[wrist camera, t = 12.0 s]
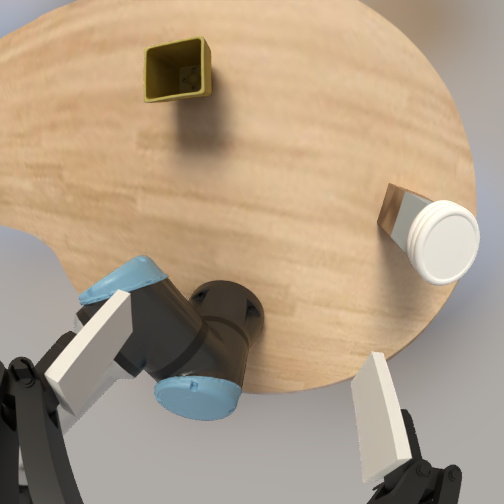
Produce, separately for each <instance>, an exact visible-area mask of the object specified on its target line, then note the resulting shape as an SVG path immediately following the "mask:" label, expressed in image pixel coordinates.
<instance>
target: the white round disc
mask: <svg viewBox="0 0 504 504" xmlns="http://www.w3.org/2000/svg"><path fill="white" fill-rule="evenodd" d="M479 242H480V234H479V227H478V224H477V221H476V219H475V218H474V216H473V215H472V214H471V213H470V211H468V210H467V209H465V208H464V207H462V206H460V205H458V204H456V203H454V202H451V201H447V200H441V201H436V202H433V203H431V204H429V205H427V206H426V207H425V208H424V209H422V210H421V211H420V213H419V214H418V215H417V216H416V218H415V219H414V221H413V223H412V225H411V227H410V230H409V234H408V238H407V252H408V257H409V260H410V262H411V264H412V266H413V267H414V268H415V270H416V271H417V272H418V273H419V274H420V276H421V277H422V278H423V279H424V280H425V281H427V282H429V283H431V284H433V285H447V284H450V283H453V282H455V281H456V280H458V279H459V278H461V277H462V276H463V275H464V274H465V273H466V272H467V270H468V269H469V268H470V267H471V265H472V263H473V261H474V259H475V257H476V254H477V252H478V248H479Z"/></svg>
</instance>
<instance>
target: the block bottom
mask: <svg viewBox="0 0 504 504" xmlns="http://www.w3.org/2000/svg"><path fill="white" fill-rule="evenodd" d="M405 191H406V192H408V193H411V194H414V195H416V196H419V197H422V198H424V199H427V200H429V201H432V200H430V199H428V198H426V197H424V196H423V195H420V194H417V193H415V192H412V191H410V190H407V189H404V188H402V187H399V186H396V185H393V184H390V183H389V185H388V188H387V192H386V195H385V198H384V202H383V205H382V208H381V211H380V214H379V217H378V220H377V223H378V224H379V225H380V226H381V227H382V228H383V229H384V230H385V232H386V233H387V234H388V235H389V236H391V234H392V231H393V228H394V225H395V222H396V219H397V216H398V213H399V210H400V207H401V203H402V200H403V197H404V193H405ZM432 202H434V201H432Z"/></svg>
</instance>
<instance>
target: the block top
mask: <svg viewBox="0 0 504 504" xmlns="http://www.w3.org/2000/svg"><path fill="white" fill-rule="evenodd" d="M431 203H433V202H432V201H429V200H427V199H424V198H422V197H419V196H416V195H414V194H411V193H408V192H406V191H405V193H404V197H403V200H402V203H401V207H400V210H399V213H398V216H397V219H396V222H395V225H394V228H393V231H392V234H391V236H390V237H391V238H392V239H393V240H394V241H395V242H396V244H397V245H398V246H399V247H400V248H401V249H402V250H403V251H404V253H405V254H406V255H407V256H408V252H407V238H408V234H409V230H410V227H411V225H412V223H413V221H414V219H415V218H416V216H417V215H418V214H419V213H420V211H421V210H422V209H424V208H425V207H426V206H427V205H429V204H431Z"/></svg>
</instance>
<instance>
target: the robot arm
mask: <svg viewBox="0 0 504 504" xmlns="http://www.w3.org/2000/svg"><path fill="white" fill-rule="evenodd" d="M168 277H169V276H168V275H167V274H164V273H163V271H162V270H161V269H160V268H159V267H158V266H157V265H156V264H155V262H154V261H153V260H152V259H151V258H149V257H148V256H144V255H140V256H136V257H134V258H133V259H131V260H130V261H128V262H126V263H125V264H123V265H122V266H120V267H119V268H117V269H116V270H114V271H113V272H111V273H110V274H108V275H107V276H106V277H104V278H103V279H101V280H100V281H98V282H97V283H96V284H94V285H93V286H91V287H90V288H89V289H87V290H86V291H84V292H83V293H81V294H80V295H79V300H80V303H81V305H84V306H83V307H82V308H81V309H80V310H79V311H78V312H77V313H76V314H75V319H74V325H75V327H74V332H72V331H69V332H67V333H65V334H64V335H62V336H61V337H60V338H59V339H58V340H57V341H56V343H55V344H54V345H53V346H52V347H51V349H49V350H48V352H47V353H46V354H45V355H44V356H43V358H42V359H41V360H40V361H39V362H38V363H37V364H36V366H35V367H34V365H33V363H32V362H31V360H30V359H28V358H26V357H18V358H15V359H14V360H12V361H11V363H10V364H9V367H8V369H6V368H5V367H4V365H3V363H2V362H1V361H0V504H84V503H83V501H82V498H81V496H80V493H79V490H78V487H77V484H76V482H75V479H74V475H73V473H72V469H71V466H70V463H69V459H68V455H67V451H66V447H65V444H64V439H63V435H64V434H65V433H66V432H67V431H68V430H69V429H70V428H71V427H72V426H73V425H74V424H75V423H76V422H77V421H78V420H79V419H80V418H81V417H82V416H83V414H85V412H86V411H87V410H88V409H89V408H90V407H91V406H92V405H93V404H94V403H95V402H96V401H97V400H98V399H99V398H100V397H101V396H102V395H103V394H104V393H105V392H106V391H107V390H108V389H109V388H110V387H111V386H112V385H113V383H114V382H115V381H116V380H117V379H134V378H135V377H136V376H137V375H138V374H139V373H140V372H141V371H142V370H145V371H146V372H147V373H148V374H150V376H152V377H153V378H154V379H155V380H156V381H157V384H156V385H155V393H154V394H155V396H156V399H157V401H158V402H159V403H160V404H161V405H162V406H163V407H164V408H166V409H167V410H169V411H171V412H173V413H175V414H177V415H179V416H182V417H185V418H190V419H195V420H203V421H210V420H218V419H222V418H225V417H227V416H229V415H230V414H231V413H233V411H234V410H235V408H236V406H237V402H238V399H239V396H240V395H241V393H242V385H243V379H244V373H245V367H246V362H247V356H248V350H249V348H250V347H251V345H252V344H253V343H254V341H255V340H256V339H257V337H258V336H259V334H260V332H261V330H262V326H263V320H264V312H263V308H262V305H261V303H260V301H259V300H258V298H257V297H256V296H255V295H254V294H253V293H252V292H251V291H250V290H248V289H247V288H245V287H244V286H242V285H239V284H237V283H234V282H230V281H222V280H219V281H211V282H207V283H205V284H203V285H201V286H199V287H198V288H197V289H196V290H195V291H194V292H193V294H192V295H191V297H190V299H189V301H187V300H186V299H185V298H184V296H183V295H182V294H181V293H180V292H179V290H178V289H177V288H176V287H175V286H174V284H173V283H172V282H171V281H170V280H169V278H168ZM350 384H351V390H352V395H353V402H354V408H355V415H356V422H357V430H358V438H359V446H360V455H361V464H362V476H363V482H373V481H377V480H379V479H381V478H382V477H384V482H383V483H381V484H379V485H377V486H376V487H374V488H373V490H376V489H377V491H376V492H375V494H374V495H373V496H372V498H371V499H370V500H369V502H368V503H367V504H457V503H458V498H459V493H460V487H461V481H462V472H461V470H460V468H459V467H458V466H456V465H450V466H448V467H446V468H445V469H439V468H433V467H432V466H431V464H430V463H429V462H428V461H426V460H424V459H422V456H421V452H420V447H419V443H418V439H417V435H416V434H415V432H416V431H415V428H414V427H413V426H414V424H413V420H412V417H411V415H410V414H409V413H408V411H407V410H406V409H400V406H399V403H398V399H397V396H396V392H395V389H394V385H393V382H392V379H391V376H390V373H389V369H388V367H387V363H386V360H385V357H384V354H383V353H379V352H371V353H370V355H369V356H368V358H367V360H366V361H365V363H364V364H363V366H362V367H361V369H360V370H359V372H358V373H357V375H356V376H355V377H354V379H353V380H352V382H351V383H350ZM432 499H433V500H432Z"/></svg>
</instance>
